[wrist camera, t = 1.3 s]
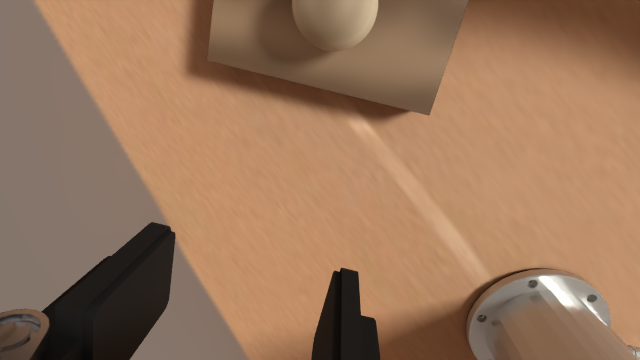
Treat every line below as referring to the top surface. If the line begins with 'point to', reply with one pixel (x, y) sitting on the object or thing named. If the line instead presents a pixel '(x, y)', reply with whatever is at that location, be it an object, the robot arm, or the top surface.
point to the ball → (334, 21)
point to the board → (348, 65)
